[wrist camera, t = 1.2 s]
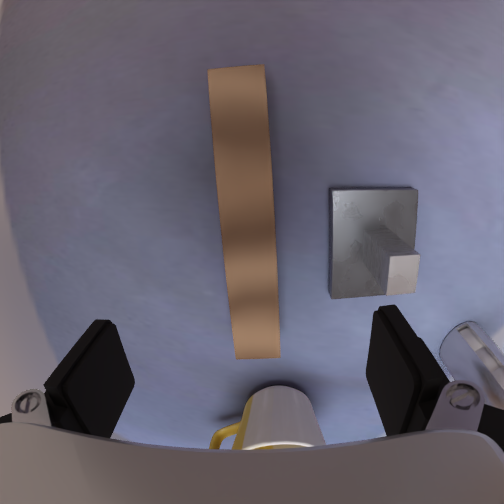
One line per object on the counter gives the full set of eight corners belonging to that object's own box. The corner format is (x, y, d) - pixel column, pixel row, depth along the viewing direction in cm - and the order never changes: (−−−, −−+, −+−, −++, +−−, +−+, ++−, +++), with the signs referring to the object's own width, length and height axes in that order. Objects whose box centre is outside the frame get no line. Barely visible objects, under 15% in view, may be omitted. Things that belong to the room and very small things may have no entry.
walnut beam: (217, 81, 24) (207, 69, 20) (264, 77, 24) (264, 64, 20) (239, 329, 33) (236, 359, 28) (278, 327, 32) (280, 357, 28)
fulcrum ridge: (329, 188, 27) (353, 207, 19) (411, 187, 27) (456, 205, 19) (328, 291, 30) (346, 339, 23) (403, 285, 30) (437, 327, 22)
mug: (312, 361, 33) (325, 434, 24) (325, 417, 37) (335, 482, 27) (196, 382, 35) (178, 452, 25) (224, 433, 38) (216, 496, 28)
